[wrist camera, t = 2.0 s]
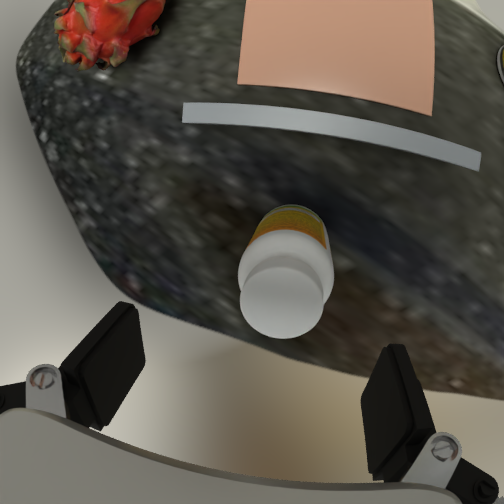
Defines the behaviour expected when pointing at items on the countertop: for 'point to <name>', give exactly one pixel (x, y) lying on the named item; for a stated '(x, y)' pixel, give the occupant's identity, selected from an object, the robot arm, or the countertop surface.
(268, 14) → the tile
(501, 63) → the supplement bottle
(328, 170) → the countertop surface
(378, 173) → the countertop surface
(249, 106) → the low wall
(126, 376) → the robot arm
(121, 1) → the dragon fruit
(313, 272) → the supplement bottle
